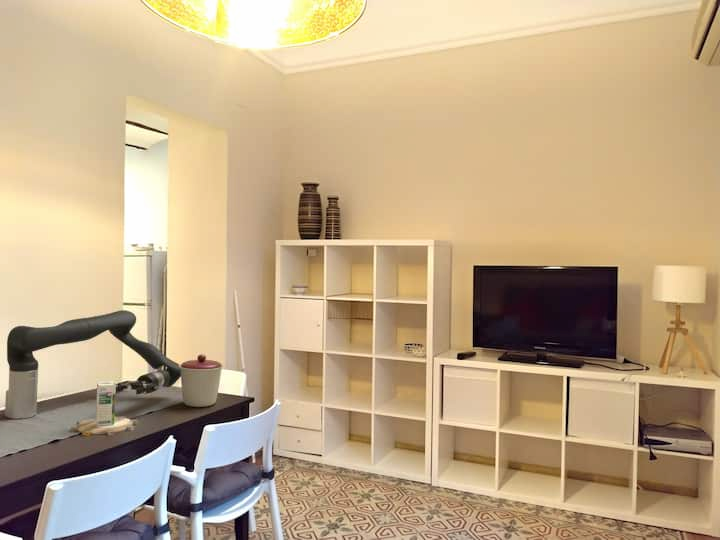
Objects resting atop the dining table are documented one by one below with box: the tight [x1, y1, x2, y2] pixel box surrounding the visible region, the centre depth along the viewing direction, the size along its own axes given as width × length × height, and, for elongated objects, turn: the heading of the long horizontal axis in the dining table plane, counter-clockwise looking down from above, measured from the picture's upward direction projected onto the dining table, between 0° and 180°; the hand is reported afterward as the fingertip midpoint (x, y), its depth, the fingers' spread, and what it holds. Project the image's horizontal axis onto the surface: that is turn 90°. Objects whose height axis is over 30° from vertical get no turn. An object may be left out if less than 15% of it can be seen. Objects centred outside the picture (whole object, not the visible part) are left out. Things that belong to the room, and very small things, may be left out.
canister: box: [179, 354, 224, 408], centre depth 233 cm, size 18×18×21 cm
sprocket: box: [70, 415, 139, 437], centre depth 197 cm, size 22×22×1 cm
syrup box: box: [95, 381, 117, 426], centre depth 196 cm, size 6×6×14 cm
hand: (126, 390), depth 208 cm, fingers open, 8 cm apart
